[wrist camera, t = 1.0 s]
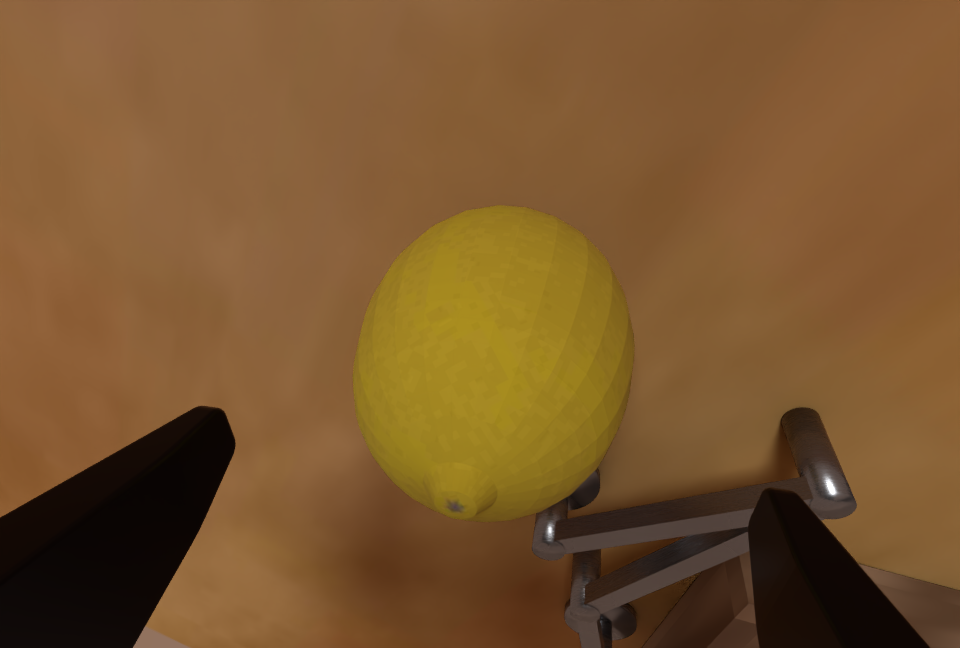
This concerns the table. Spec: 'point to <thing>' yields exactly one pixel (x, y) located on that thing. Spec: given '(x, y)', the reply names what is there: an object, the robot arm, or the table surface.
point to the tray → (731, 615)
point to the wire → (675, 533)
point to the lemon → (494, 364)
